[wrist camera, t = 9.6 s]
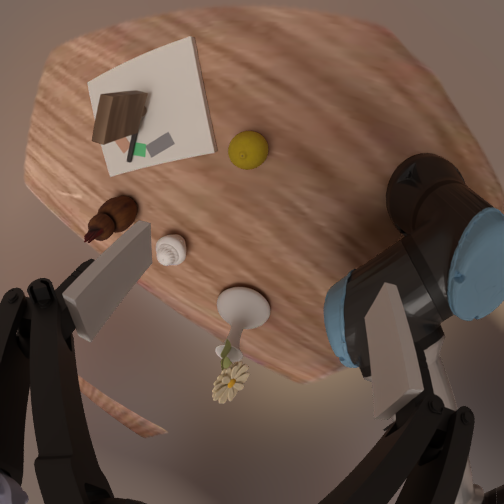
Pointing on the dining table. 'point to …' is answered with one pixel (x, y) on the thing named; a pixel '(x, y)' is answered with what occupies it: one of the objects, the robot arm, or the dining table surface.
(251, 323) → the flower in vase
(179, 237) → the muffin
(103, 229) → the wooden figurine
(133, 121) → the dark wooden block
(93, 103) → the dial board
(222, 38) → the dining table surface
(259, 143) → the lemon
